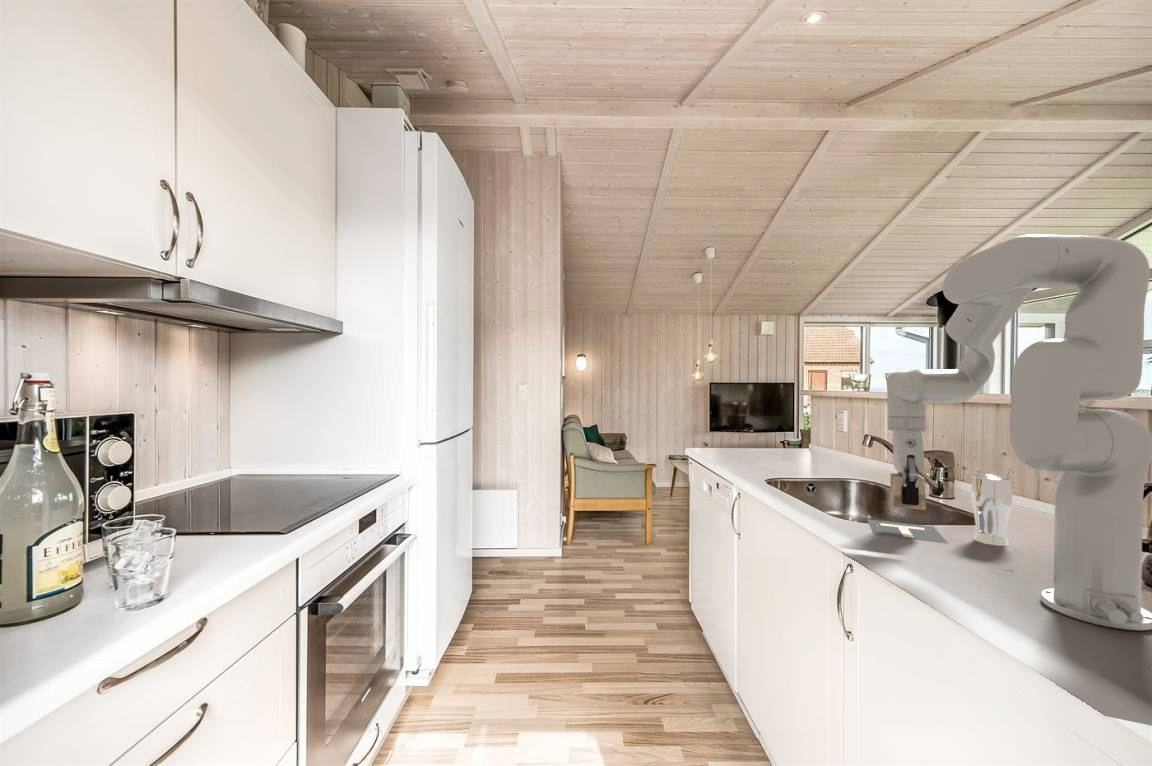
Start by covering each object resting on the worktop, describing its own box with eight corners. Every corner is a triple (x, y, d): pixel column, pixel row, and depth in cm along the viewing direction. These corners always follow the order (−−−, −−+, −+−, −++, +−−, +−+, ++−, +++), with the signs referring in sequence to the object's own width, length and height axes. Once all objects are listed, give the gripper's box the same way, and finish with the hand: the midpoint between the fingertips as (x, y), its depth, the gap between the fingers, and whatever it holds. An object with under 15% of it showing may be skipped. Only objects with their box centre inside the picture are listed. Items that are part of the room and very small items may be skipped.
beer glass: (1019, 551, 108) (1020, 480, 107) (982, 548, 109) (982, 479, 109) (999, 541, 114) (999, 474, 114) (964, 538, 116) (965, 473, 116)
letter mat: (948, 547, 110) (948, 543, 110) (873, 538, 116) (873, 534, 116) (933, 529, 123) (933, 526, 123) (867, 522, 128) (867, 519, 128)
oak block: (925, 509, 114) (925, 478, 114) (894, 507, 117) (894, 476, 117) (920, 504, 120) (919, 474, 120) (890, 502, 122) (890, 473, 122)
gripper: (934, 426, 109) (935, 510, 109) (918, 423, 125) (919, 496, 125) (893, 426, 113) (894, 507, 112) (882, 422, 128) (883, 494, 128)
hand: (907, 501), depth 118 cm, fingers closed on oak block, 6 cm apart
